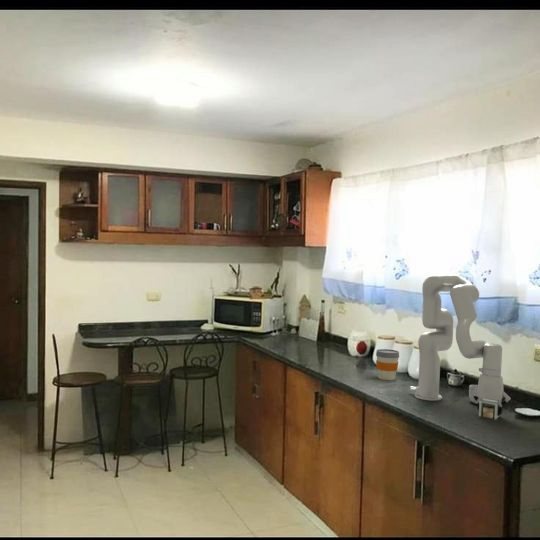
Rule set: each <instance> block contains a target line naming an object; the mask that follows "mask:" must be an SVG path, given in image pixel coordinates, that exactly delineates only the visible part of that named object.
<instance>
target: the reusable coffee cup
mask: <svg viewBox="0 0 540 540" xmlns="http://www.w3.org/2000/svg"><path fill="white" fill-rule="evenodd" d="M375 356H376V360H375V362H376V363H375V364H376V369H377V377H378V380H379V379H380V380H383V381H394V380H395V379H396V374H397V371H398V367H399V358H400V351H399V350H396V349H395V350H394V349H387V348H386V349H385V348H384V349H383V348H382V349H377V350H376V353H375Z"/></svg>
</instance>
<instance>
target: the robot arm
mask: <svg viewBox="0 0 540 540" xmlns="http://www.w3.org/2000/svg"><path fill="white" fill-rule="evenodd" d="M421 287H422V318H421V319H422V320H421V321H422V325H423V327H424V328H426V329H429V330H435V331H426V332H423V333H421V334H420V336H419V338H418V341H417V343H418V351H419V369H418V384H417V385H418V386H412V385H410V386H409V390H410V391H411V392H414V397H415V398H416V399H419V400H422V401H428V402H429V401H431V402H437V401H441V400H443V396H442V395H441V394H439V391H440V376H441V375H440V374H441V372H440V371H441V359H440V355H439V353H438V352H443V351H444V352H445V351H448V350H449V349H450V348H451V347H452V345H453V340H454V338H453V337H454V317H453V314H452V313H451V311H449V309H446V308H442V299H441V295H440V292H441V293H443V292H445V293H448V292H449V296H450V299H451V303H452V305H453V309H454V313H455V316H456V318H457V325H456V326H455V327H456V329H455V341H456V344H457V346H458V350H459V352H460V354H461V355H462V356H463V357H464V358H465V359H470V360H471V359H472V360H473V359H481V358H482V367H479V368H478V372H480V373H481V374H480V375H479V377H478V383H477V385H478V388H477V389H475V390H473V391H472V392H471V394H472V396H473V397H474V399H475V400H476V401H477V403H478V404H477V407H476V409H477V412H478V413H479V402H480V401H481V400H482V399H489V400H495V401H497V402H498V404H499V406H498V414H497V415H498V416H499V417H500V416H501V415H502V414H503V406H504V405H506V404H507V403H508V402H509V401H510V400H511V397H510V396H509V395H508V394H507V393H506V392H505V391H504V380H503V376H502V362H503V359H502V358H503V347H502V345H501V344H498V343H493V342H492V343H491V342H489V341H485V340H472V338H471V334H470V330H471V329H470V328H471V326H472V324H473V323H474V321H476V320H477V319H478V314H477V310H476V308H475V306H474V303H475V302H477V301H478V300H479V298H480V291H479V289H478V288H477V287H476V286H475V285H474V284H473V283H471V282H470V281H468V280H467V279H465V278H463V277H461V276H460V275H458V274H454V273H434V274H430V275H428V276H427V277H426V278H424V281H423V283H422V286H421ZM476 392H477V395H476V394H475V393H476ZM478 397H479V398H478ZM503 398H505V399H504V400H503V401H502V399H503Z"/></svg>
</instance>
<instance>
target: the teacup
mask: <svg viewBox="0 0 540 540" xmlns="http://www.w3.org/2000/svg"><path fill="white" fill-rule="evenodd" d="M468 387H469V390H468V397H469V399H470V401H471V402H472V403H473V404H475V405H476V404H478V403H477V401H476V400H475V399H474V397H473V396H472V394H471V392H472V391H473V390H475V389H477V388H478V384H470V385H469V386H468ZM475 394H476V395H477V392H476V393H475ZM478 398H479V397H478Z"/></svg>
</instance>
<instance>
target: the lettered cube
mask: <svg viewBox="0 0 540 540" xmlns="http://www.w3.org/2000/svg"><path fill="white" fill-rule="evenodd" d="M482 417H483V418H488V419H494V417H495V407H490V406H485V407H483V415H482Z"/></svg>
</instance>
